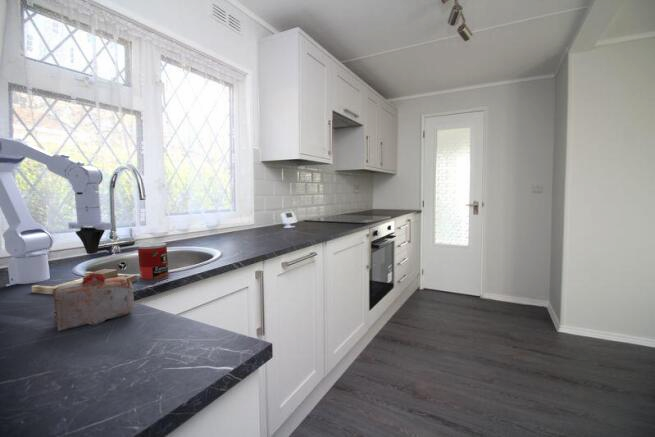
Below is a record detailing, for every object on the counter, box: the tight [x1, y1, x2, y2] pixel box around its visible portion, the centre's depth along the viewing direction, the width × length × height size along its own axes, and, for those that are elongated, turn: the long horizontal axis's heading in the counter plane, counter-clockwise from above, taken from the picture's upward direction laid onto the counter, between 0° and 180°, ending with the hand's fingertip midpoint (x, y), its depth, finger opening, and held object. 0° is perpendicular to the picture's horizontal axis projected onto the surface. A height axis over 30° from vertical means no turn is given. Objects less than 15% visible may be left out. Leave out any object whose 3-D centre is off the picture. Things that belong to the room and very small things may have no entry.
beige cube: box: [89, 268, 119, 279], centre depth 87 cm, size 4×4×4 cm
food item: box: [52, 275, 135, 332], centre depth 68 cm, size 14×8×10 cm, turn 132°
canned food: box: [137, 241, 169, 283], centre depth 98 cm, size 8×8×11 cm
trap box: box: [31, 271, 138, 295], centre depth 89 cm, size 19×15×3 cm
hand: (92, 253), depth 95 cm, fingers closed
